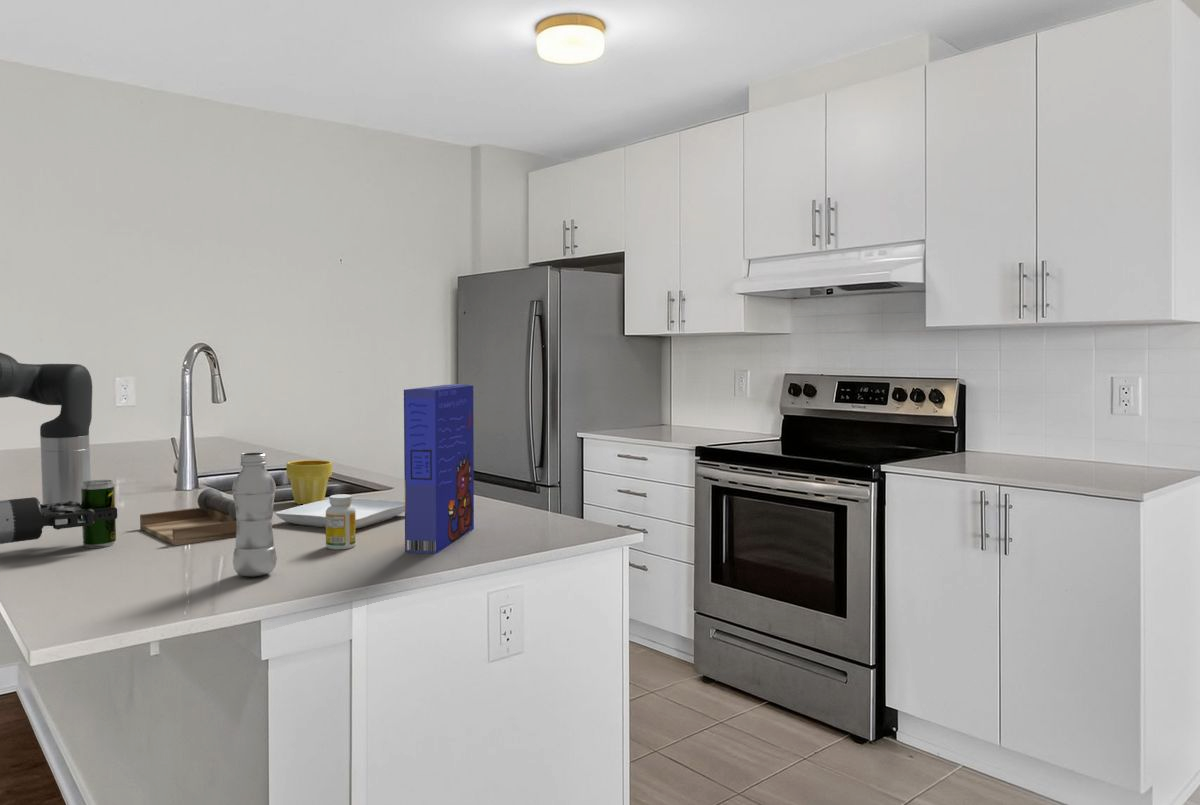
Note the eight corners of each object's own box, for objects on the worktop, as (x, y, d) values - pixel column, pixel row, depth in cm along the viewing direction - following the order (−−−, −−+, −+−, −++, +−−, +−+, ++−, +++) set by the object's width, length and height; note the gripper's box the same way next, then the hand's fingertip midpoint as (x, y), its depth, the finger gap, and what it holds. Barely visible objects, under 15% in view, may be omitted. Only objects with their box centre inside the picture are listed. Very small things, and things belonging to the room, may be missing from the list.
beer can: (83, 549, 156) (81, 484, 155) (82, 544, 160) (80, 481, 160) (117, 546, 159) (115, 482, 158) (115, 540, 163) (113, 478, 163)
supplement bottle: (334, 551, 156) (333, 499, 155) (320, 546, 160) (320, 495, 159) (361, 547, 160) (360, 496, 159) (347, 542, 163) (347, 492, 163)
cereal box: (446, 527, 177) (445, 383, 175) (473, 528, 176) (473, 383, 174) (405, 552, 156) (403, 388, 154) (436, 553, 155) (435, 388, 153)
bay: (140, 529, 174) (139, 495, 173) (220, 518, 185) (219, 486, 185) (175, 545, 160) (174, 508, 159) (259, 533, 171) (258, 498, 170)
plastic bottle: (240, 570, 142) (238, 451, 141) (282, 570, 143) (280, 451, 141) (227, 581, 136) (224, 456, 134) (270, 580, 136) (268, 456, 135)
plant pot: (339, 499, 209) (338, 459, 209) (321, 507, 199) (321, 465, 199) (299, 498, 210) (298, 459, 210) (279, 505, 200) (278, 464, 200)
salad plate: (272, 527, 179) (271, 510, 178) (339, 509, 198) (338, 495, 198) (354, 535, 171) (354, 518, 170) (416, 516, 190) (415, 501, 190)
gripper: (15, 505, 144) (121, 494, 155) (-3, 495, 154) (98, 485, 165) (16, 549, 144) (122, 535, 156) (-1, 536, 154) (99, 523, 166)
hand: (109, 509), depth 161 cm, fingers open, 8 cm apart
